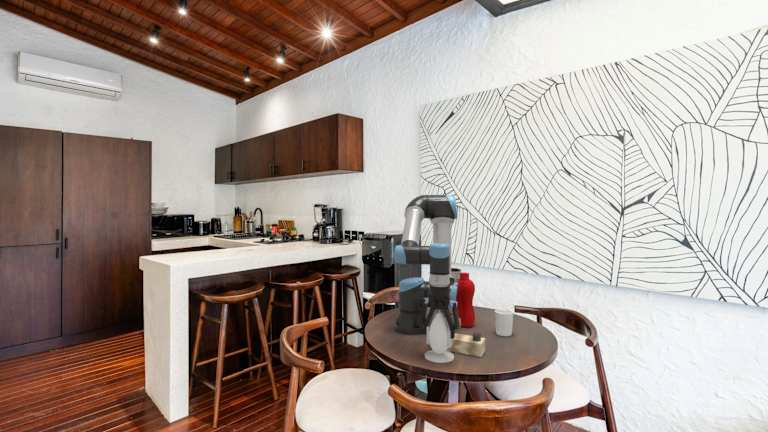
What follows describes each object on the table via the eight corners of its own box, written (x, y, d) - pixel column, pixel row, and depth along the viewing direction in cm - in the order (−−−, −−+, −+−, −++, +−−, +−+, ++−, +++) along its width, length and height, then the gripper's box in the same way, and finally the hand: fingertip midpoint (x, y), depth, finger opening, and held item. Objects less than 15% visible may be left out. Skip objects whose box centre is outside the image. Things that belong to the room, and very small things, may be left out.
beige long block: (431, 347, 149) (431, 329, 149) (436, 341, 155) (437, 324, 155) (481, 357, 140) (481, 337, 140) (485, 350, 146) (485, 331, 146)
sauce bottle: (426, 355, 138) (426, 307, 137) (431, 347, 145) (431, 302, 144) (447, 358, 135) (447, 309, 134) (451, 350, 142) (451, 304, 142)
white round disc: (420, 359, 138) (420, 357, 138) (430, 349, 148) (430, 347, 148) (448, 365, 133) (448, 363, 133) (457, 354, 142) (457, 352, 142)
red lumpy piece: (477, 322, 181) (477, 271, 180) (471, 329, 171) (471, 275, 170) (458, 319, 185) (459, 269, 184) (451, 325, 176) (452, 273, 175)
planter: (456, 315, 192) (456, 271, 191) (438, 312, 197) (439, 270, 197) (463, 310, 200) (464, 268, 199) (446, 307, 206) (446, 267, 205)
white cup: (514, 337, 160) (514, 314, 160) (495, 336, 162) (495, 313, 161) (511, 331, 168) (512, 309, 168) (493, 330, 169) (493, 308, 169)
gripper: (410, 283, 141) (410, 343, 142) (463, 289, 131) (463, 353, 132) (418, 280, 147) (418, 337, 148) (469, 285, 138) (469, 346, 139)
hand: (439, 344), depth 140 cm, fingers closed on sauce bottle, 8 cm apart
